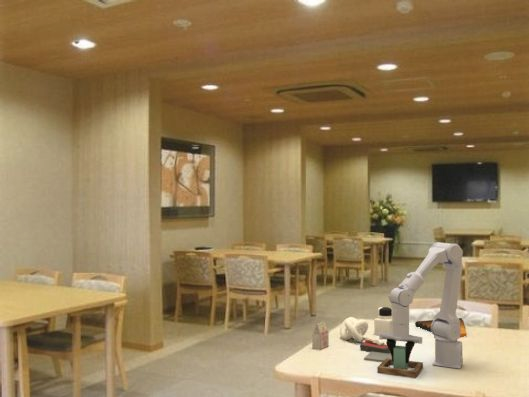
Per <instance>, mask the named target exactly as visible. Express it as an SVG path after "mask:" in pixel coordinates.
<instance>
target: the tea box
mask: <svg viewBox="0 0 529 397" xmlns="http://www.w3.org/2000/svg"><path fill="white" fill-rule="evenodd" d="M311 334H312V336H311V340H312V344H311V345H312V346H311V348H312V350H317V351H322V350H324V349H327V348H330V347H329V346H330V345H329V344H330V343H329V341H330V339H329V330H328V327H327V324H326V321H322V322H319V323H316V324H315V327H314V330H313V332H312V333H311Z"/></svg>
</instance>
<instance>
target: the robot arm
mask: <svg viewBox="0 0 529 397" xmlns="http://www.w3.org/2000/svg"><path fill="white" fill-rule="evenodd" d="M463 254H464V251H463V249H462V247H460V245H459V244H457V243H448V242H447V243H446V242H440V241H437V242H434V243H433V244H432V246H431V247H430V248H429V249H428V253H427V255H426V256H425V257H424V258H423V261H422V262H421V263H420V265H419V266H418V267H417V269H416V270H415V271H411V272H409V273H407V274H406V277H405V278H403V281H402V282H401V283H399V285H397V287H395V288H392V290H391V291H390V293H389V295H388V300H389V301H390V303H391V309H392V317H391V318H392V333H380V336H379V340H386V342H385V343H386V344H385V345H387V346H388V348H389V350H390V354H391V356H392V362H394V347H395V346H396V345H397V341H398V342H406V343H405V344H404V346H405V347H406V363H407V364H408V363H409V361H410V358H411V354H412V350H413V348H414V346H415V344H420V345H422V344H423V337H422V336H416V335H411V334H410V305H411V304H412V303H413V301H414V296H415V293H417V291H418V290H419V289H420V288H421V287H422V286H423V284H424V278H425V277H426V276H427V275H428V274H429V273H430V271H432V270H433V268H434V267H435V266H436V265H438V264H442V265H443V267H444V268H445V275H444V280H443V288H442V294H441V300H440V309H439V311H438V312H437V313H435V315H434V317H433V319H432V320H433V322H432V324H431V332H432V333H431V332H430V333H431V334H432V335H433V338H434V344H435V345H434V346H435V348H434V353H435V354H434V361H433V363H432V366H435V367H436V366H437V367H443V368H452V369H461V367H462V365H463V361H464V359H463V341H459V338H461V337H460V334H461V329H460V320H459V319H458V318H459V317H458V316H457V307H458V306H457V305H458V301H459V300H458V299H459V294H460V288H461V280H462V274H463V266H464V265H463V260H462V259H463V256H464V255H463ZM445 320H446V321H445ZM447 321H448V322H447Z"/></svg>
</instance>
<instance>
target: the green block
mask: <svg viewBox="0 0 529 397" xmlns="http://www.w3.org/2000/svg"><path fill="white" fill-rule="evenodd" d="M393 368H398V369H405V370H409V367H408V364H407V363H406V347H405V345H397V344H396V346H395V347H394V365H393Z"/></svg>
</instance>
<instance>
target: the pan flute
mask: <svg viewBox="0 0 529 397" xmlns="http://www.w3.org/2000/svg"><path fill="white" fill-rule="evenodd" d="M458 319H459V320H460V329H461V334H460V337H459V338H465V337H464V336H466V337H467V330H466V326H465V322H464V319H463V318H462V317H458ZM433 320H434V319H430V320H417V321H416V322H414V326H416V328H418V327H420V328H419V329H421V328H422V329H421V330H424V331H426V330H427V332H429V333H431V324H432V322H433ZM445 321H446V320H445ZM447 322H448V321H447Z"/></svg>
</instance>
